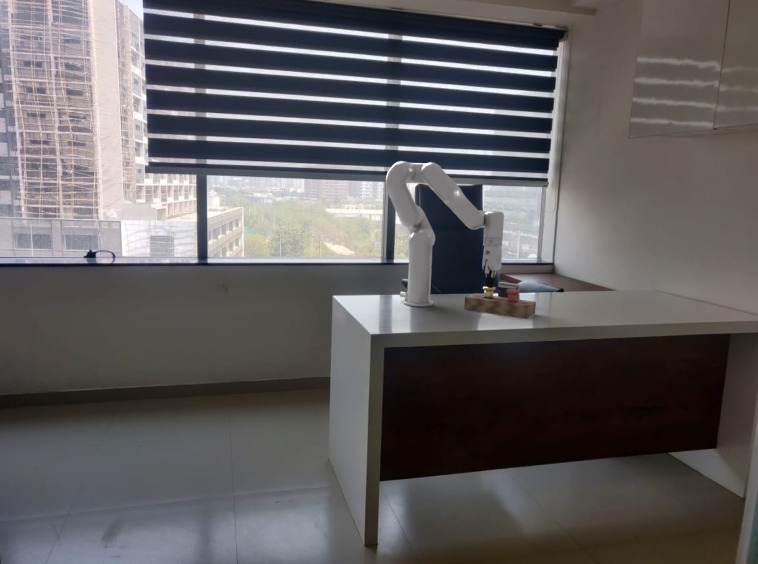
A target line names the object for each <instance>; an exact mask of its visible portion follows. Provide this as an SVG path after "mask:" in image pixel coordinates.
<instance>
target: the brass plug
mask: <svg viewBox="0 0 758 564" xmlns="http://www.w3.org/2000/svg"><path fill="white" fill-rule="evenodd" d="M482 290H483V291H484V293H483V294H484V298H486V299H493V296H494V291H496V287H495V286H494V287H486V285H484V286H483V287H482Z"/></svg>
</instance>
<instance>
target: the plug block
mask: <svg viewBox="0 0 758 564" xmlns="http://www.w3.org/2000/svg"><path fill="white" fill-rule="evenodd" d="M507 301H508V298H505V297H498V295H497V296H496V295H493V299H486V298H484V293H476V292H475V293H473V294H470V295H466V296H464V305H463V307H464V308H463V309H464V310H468V309H470V310H469V311H474V310H475V311H474V312H480V311H481V312H482V313H487V314H495V315H499V316H505V317H511V318H520V319H525V320H526V319H529V318H530V317H532V316H534V315H536V308H537V307H536V305H537V302H536V301H534V300H533V301H532V300H525V299H520V300H519V299H517V302H516V303H514V302H507Z"/></svg>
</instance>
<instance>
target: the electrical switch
mask: <svg viewBox="0 0 758 564" xmlns="http://www.w3.org/2000/svg"><path fill="white" fill-rule="evenodd" d="M507 289H515V290H519V294H517V299H519V300H521V298H520V297H521V296H520V291H521V290H520V284H518V283H511V282H504V281H503V282H502V281H499V282H498V285H497V296H498V297H505V298H508V293H506V291H507Z"/></svg>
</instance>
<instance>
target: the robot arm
mask: <svg viewBox="0 0 758 564" xmlns="http://www.w3.org/2000/svg"><path fill="white" fill-rule="evenodd" d="M407 184H423V185H424V184H426V185H427V186H428V187H429V189H431V190H432V191H433V192H434V193H435V194H436V195H437V197H438V198H439V199H440V200H442V202H443V203H444V204H445V206H447V207H448V209H450V210H451V211H452V213H454V215H456V216H457V218H458V219H459V220H460V221H461V222H462V223H463V224H464V225H465V226H466V227H467V228H468V229H470V230H478V229H480V228H481V229H483V243H482V245H483V255H482V270H484V274H485V286H486V287H495V286H496V285H495V284H496V283H495V281H496V274H497V271H499V270H501V268H502V262H503V260H502V259H503V256H502V255H503V254H502V246H503V240H504V239H503V236H504V223H505V222H504V221H505V214H504V212H503V211H498V210H488V211H487V210H478V208H477V207H476V206H475V205H473V203H472V202H471V201H470V200H469V199H468V197H466V195H465V193H463V191H462V189H461V187H460V186H459V185H458V184H457V183H456V182H455V181H454V180H453V179H452V178H451V177H450V176H449V175H448V174H447V173H446V172H445V171H444V169H443V168H442V167H441V165H439V164H438V163H436V162H432V161H430V162H427V163H422V162H420V163H419V162H408V161H404V160H399V161H397V162H395V163H393V165H392V166H391V167H390V168H389V170H388V171H387V174H386V178H385V189H386V192H387V194H388V197H389V198H390V201H391V203H392V205H393V208H394V210H395V213H396V214H397V217H398V219H399V222H400V224H402V226H403V227H405V228H406V229H407V230H408V232H409V234H410V236H409V239H408V276H407V277H408V278H407V291H406V292H405V291H400V293H399V297H401V298H404V299H403V304H404V305H406V306H408V307H409V306H410V307H422V308H423V307H431V306H433V305H434V301H433V300H431V285H432V284H431V283H432V282H431V281H432V264H433V246H434V245H435V242H436V235H435V232H434V230H433V228H432V225H431V224H430V222H429V220H428V218H427V215H426V213H425V211H424V210H423V208H421V206H419V205H417V204H416V202H415V199H414V198H413V196H412V194H411V192H410V190H409V188H408V185H407Z"/></svg>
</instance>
